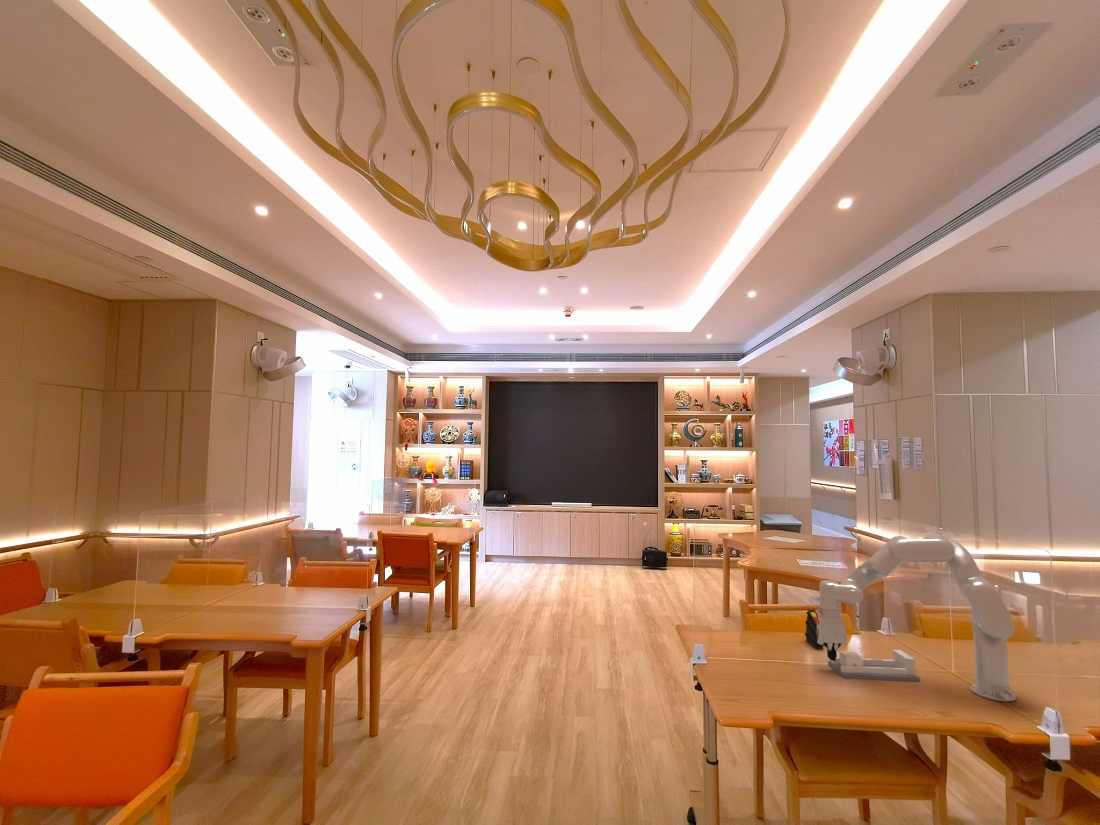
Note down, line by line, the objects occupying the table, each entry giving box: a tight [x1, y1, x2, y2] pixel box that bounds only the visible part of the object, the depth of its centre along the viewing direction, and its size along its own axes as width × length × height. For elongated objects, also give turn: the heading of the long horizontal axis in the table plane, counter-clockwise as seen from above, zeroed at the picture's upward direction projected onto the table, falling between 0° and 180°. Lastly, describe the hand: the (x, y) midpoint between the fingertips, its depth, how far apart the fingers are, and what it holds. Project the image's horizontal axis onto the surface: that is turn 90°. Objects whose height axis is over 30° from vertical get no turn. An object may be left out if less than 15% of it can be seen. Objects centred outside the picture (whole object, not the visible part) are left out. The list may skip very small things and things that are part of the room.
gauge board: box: [827, 649, 921, 682], centre depth 216 cm, size 14×28×8 cm, turn 84°
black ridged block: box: [804, 609, 825, 650], centre depth 247 cm, size 4×13×15 cm, turn 177°
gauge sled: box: [838, 650, 864, 667], centre depth 217 cm, size 11×6×5 cm, turn 174°
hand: (832, 659), depth 218 cm, fingers closed
